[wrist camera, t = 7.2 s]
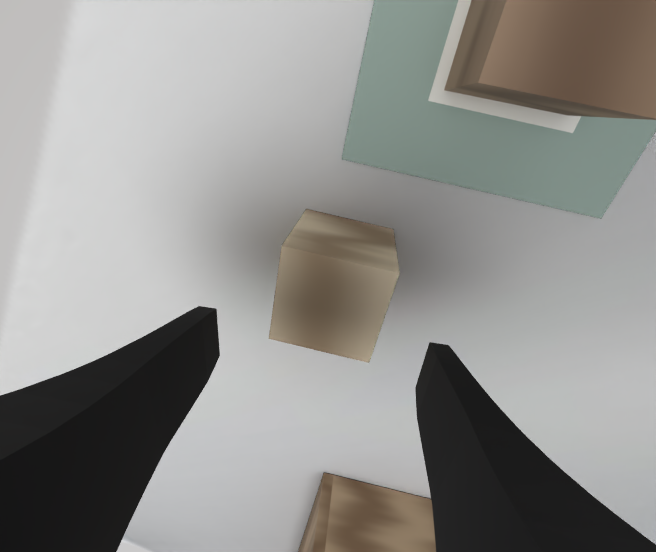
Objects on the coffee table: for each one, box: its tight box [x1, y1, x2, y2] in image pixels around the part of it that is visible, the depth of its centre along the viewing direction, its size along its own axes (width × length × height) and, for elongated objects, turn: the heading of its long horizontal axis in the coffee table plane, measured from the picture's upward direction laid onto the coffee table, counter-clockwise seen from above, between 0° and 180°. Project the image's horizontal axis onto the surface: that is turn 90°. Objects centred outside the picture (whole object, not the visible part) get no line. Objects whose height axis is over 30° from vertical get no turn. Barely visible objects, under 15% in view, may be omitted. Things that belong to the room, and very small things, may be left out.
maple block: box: [269, 209, 400, 363], centre depth 15 cm, size 4×4×5 cm
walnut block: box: [444, 0, 656, 120], centre depth 10 cm, size 5×5×5 cm
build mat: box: [342, 0, 656, 219], centre depth 12 cm, size 12×12×1 cm
